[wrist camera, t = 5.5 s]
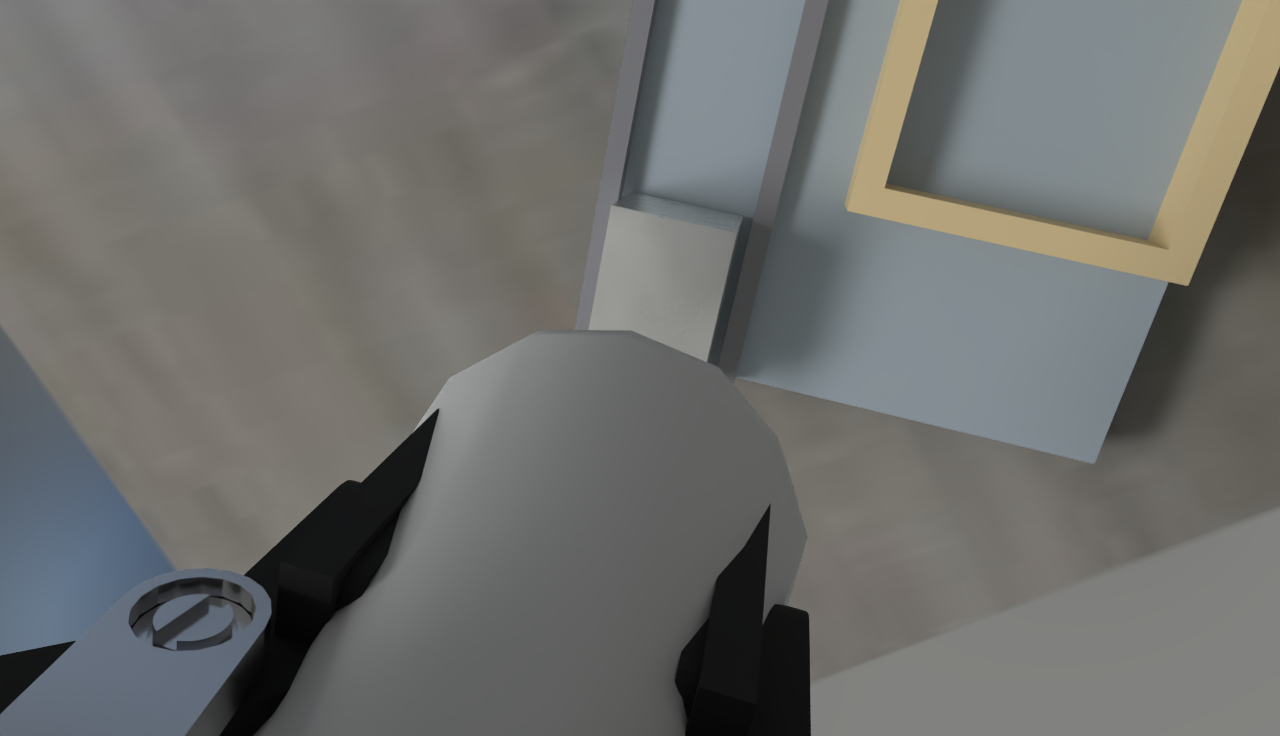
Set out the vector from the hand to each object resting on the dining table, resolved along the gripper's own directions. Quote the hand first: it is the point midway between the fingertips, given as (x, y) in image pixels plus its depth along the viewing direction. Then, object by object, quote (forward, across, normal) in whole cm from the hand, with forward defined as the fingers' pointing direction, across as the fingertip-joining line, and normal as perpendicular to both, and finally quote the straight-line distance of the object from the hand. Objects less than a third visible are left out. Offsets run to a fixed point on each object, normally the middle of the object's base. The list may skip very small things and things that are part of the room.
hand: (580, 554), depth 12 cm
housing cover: (+16, +1, +1) cm, 16 cm away
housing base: (+19, -4, -6) cm, 20 cm away
